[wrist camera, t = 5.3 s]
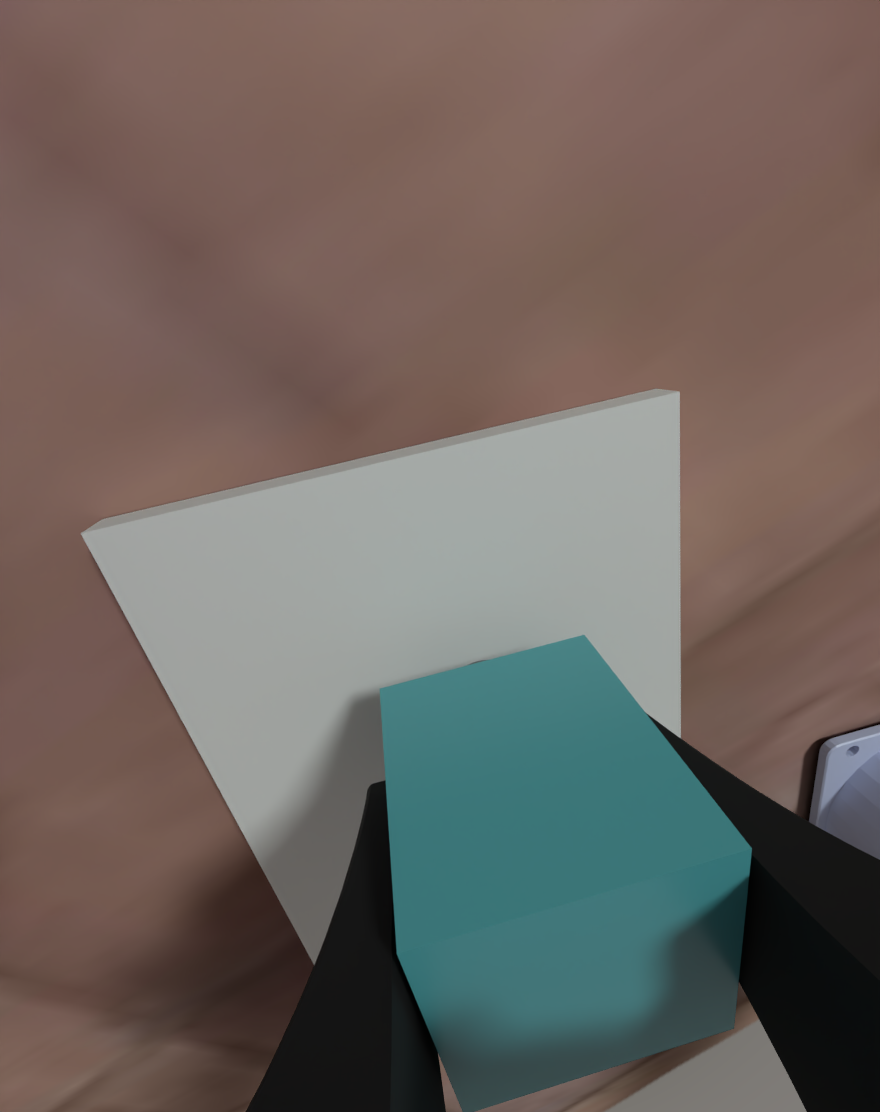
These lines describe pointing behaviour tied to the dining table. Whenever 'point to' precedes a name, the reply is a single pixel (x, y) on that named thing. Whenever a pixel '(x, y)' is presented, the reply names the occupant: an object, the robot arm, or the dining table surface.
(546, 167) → the dining table surface
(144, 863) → the dining table surface
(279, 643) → the post board
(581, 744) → the turquoise box
